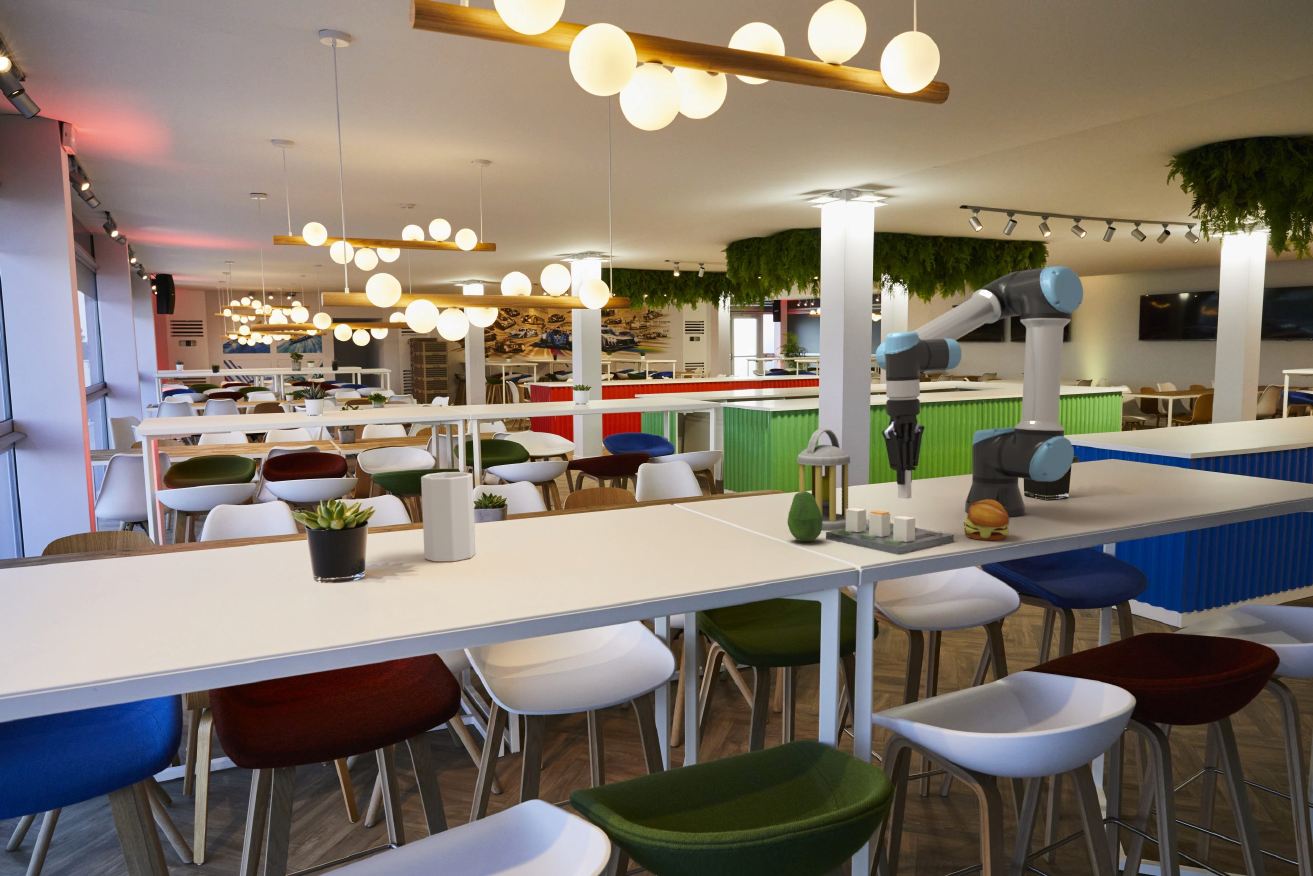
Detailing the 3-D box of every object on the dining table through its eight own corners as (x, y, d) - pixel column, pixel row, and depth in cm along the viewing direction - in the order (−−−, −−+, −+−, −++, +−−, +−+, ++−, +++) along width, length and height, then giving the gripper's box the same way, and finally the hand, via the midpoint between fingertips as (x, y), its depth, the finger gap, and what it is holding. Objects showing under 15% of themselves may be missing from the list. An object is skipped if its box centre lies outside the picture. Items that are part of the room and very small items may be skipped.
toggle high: (901, 537, 188) (901, 515, 187) (914, 540, 185) (915, 518, 184) (893, 539, 186) (893, 517, 185) (906, 542, 183) (906, 519, 182)
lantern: (827, 533, 203) (827, 431, 200) (784, 525, 214) (783, 429, 211) (863, 525, 212) (863, 428, 209) (819, 517, 222) (819, 425, 220)
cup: (422, 554, 188) (418, 473, 186) (472, 549, 192) (468, 470, 190) (427, 564, 178) (423, 479, 176) (479, 559, 182) (476, 476, 180)
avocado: (795, 537, 199) (795, 487, 198) (826, 540, 195) (826, 489, 194) (782, 543, 192) (782, 492, 191) (815, 546, 188) (814, 494, 187)
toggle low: (854, 528, 199) (854, 507, 198) (865, 530, 196) (866, 509, 196) (845, 529, 197) (845, 509, 197) (857, 532, 194) (857, 511, 194)
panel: (881, 527, 207) (881, 519, 207) (953, 541, 190) (954, 532, 190) (825, 538, 196) (825, 529, 196) (898, 554, 179) (898, 544, 179)
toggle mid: (877, 532, 193) (877, 510, 193) (890, 535, 190) (890, 512, 190) (869, 534, 192) (869, 511, 191) (881, 536, 189) (881, 513, 188)
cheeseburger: (1000, 531, 200) (1005, 493, 196) (1014, 552, 190) (1019, 512, 186) (957, 531, 201) (961, 493, 197) (969, 551, 191) (973, 511, 187)
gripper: (907, 396, 200) (909, 492, 202) (871, 400, 192) (874, 499, 195) (933, 396, 194) (935, 495, 196) (898, 400, 186) (900, 503, 188)
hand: (904, 497), depth 195 cm, fingers closed
